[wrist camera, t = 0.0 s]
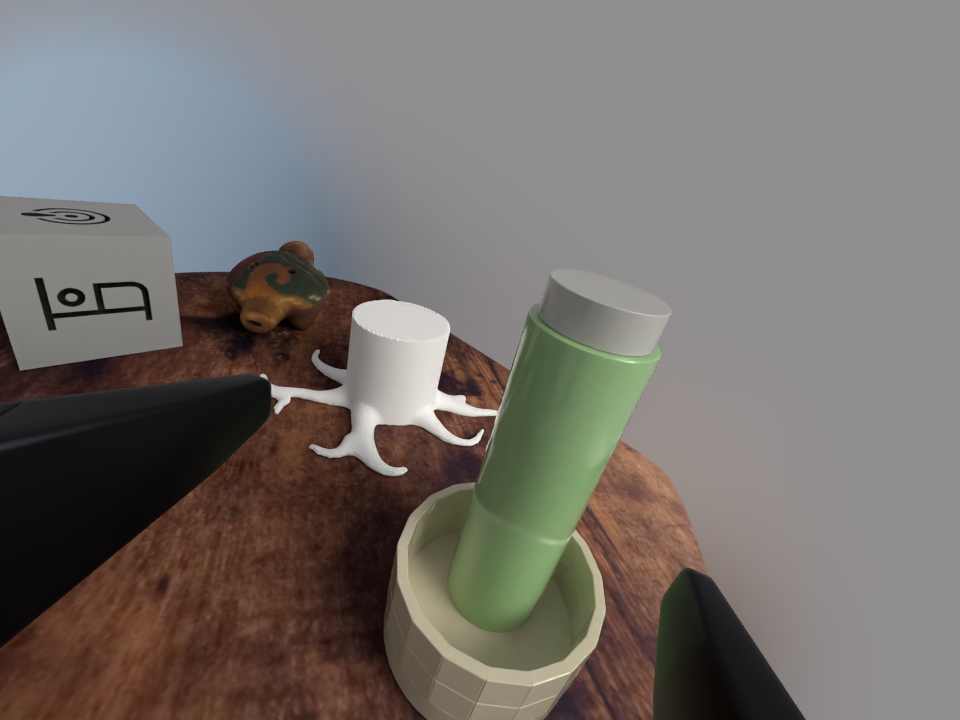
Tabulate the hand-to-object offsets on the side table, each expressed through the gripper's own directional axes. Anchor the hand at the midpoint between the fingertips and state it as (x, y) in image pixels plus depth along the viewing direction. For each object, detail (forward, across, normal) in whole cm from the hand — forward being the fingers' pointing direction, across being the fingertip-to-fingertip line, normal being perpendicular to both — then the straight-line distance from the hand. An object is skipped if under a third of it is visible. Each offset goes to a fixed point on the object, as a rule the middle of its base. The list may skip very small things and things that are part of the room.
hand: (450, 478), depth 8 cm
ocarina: (+28, +30, +16) cm, 44 cm away
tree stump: (+22, +13, +16) cm, 30 cm away
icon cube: (+15, +38, +16) cm, 44 cm away
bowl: (+8, -2, +16) cm, 18 cm away
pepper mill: (+9, -2, +14) cm, 17 cm away
